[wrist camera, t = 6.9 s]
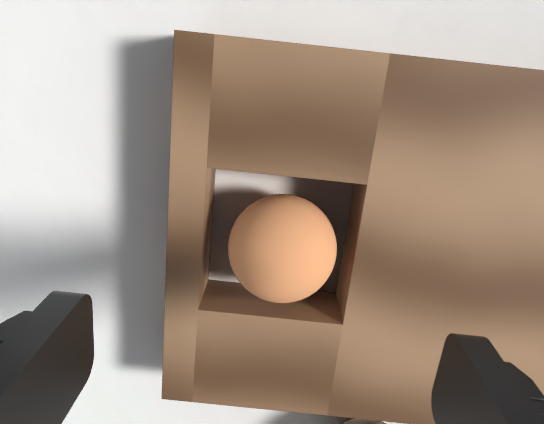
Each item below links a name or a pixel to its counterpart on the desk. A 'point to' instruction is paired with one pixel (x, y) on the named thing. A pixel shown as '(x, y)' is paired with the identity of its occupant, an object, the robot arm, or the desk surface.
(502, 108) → the wooden board with recess
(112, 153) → the desk surface
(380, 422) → the beech ball
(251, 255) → the ball
